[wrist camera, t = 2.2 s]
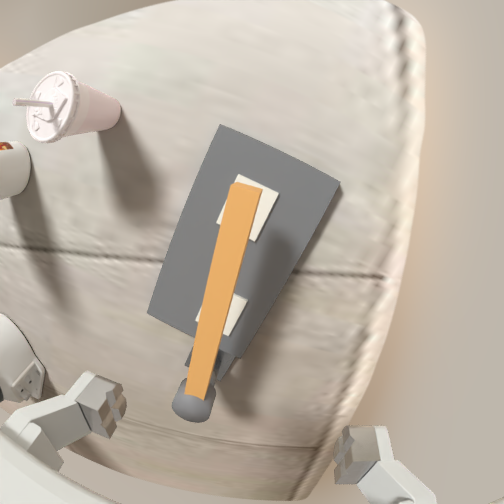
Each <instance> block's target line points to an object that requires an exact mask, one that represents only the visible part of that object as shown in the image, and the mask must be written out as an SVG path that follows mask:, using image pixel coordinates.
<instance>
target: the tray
mask: <svg viewBox="0 0 504 504" xmlns="http://www.w3.org/2000/svg"><path fill="white" fill-rule="evenodd" d="M235 182H240V183H243V184H247V185H251V186H254V187H258V188H261V189H263V190H262V194H261V197H260V201H259V205H258V208H257V212H256V215H255V219H254V223H253V226H252V230H251V233H250V237H249V240H248V244H247V248H246V251H245V255H244V258H243V262H242V266H241V269H240V273H239V277H238V280H237V284H236V287H235V291H234V295H233V298H232V302H231V306H230V309H229V313H228V317H227V320H226V324H225V328H224V331H223V335H222V339H221V342H220V346H219V349H220V350H222V351H224V352H227V353H229V354H231V355H233V356H236V357H238V358H241V357H242V355H243V353H244V352H245V350H246V349H247V347H248V345H249V344H250V342H251V340H252V339H253V337H254V335H255V334H256V332H257V331H258V329H259V327H260V326H261V324H262V322H263V321H264V319H265V317H266V315H267V314H268V312H269V310H270V309H271V307H272V305H273V304H274V302H275V300H276V299H277V297H278V295H279V293H280V292H281V290H282V288H283V286H284V285H285V283H286V281H287V280H288V278H289V276H290V274H291V273H292V271H293V269H294V267H295V265H296V264H297V262H298V260H299V258H300V257H301V255H302V253H303V251H304V249H305V248H306V246H307V244H308V242H309V240H310V239H311V237H312V235H313V233H314V231H315V229H316V228H317V226H318V224H319V222H320V220H321V218H322V216H323V215H324V213H325V211H326V209H327V207H328V205H329V203H330V201H331V199H332V198H333V196H334V194H335V192H336V190H337V188H338V186H339V184H340V181H338V180H336V179H334V178H332V177H331V176H329V175H327V174H325V173H323V172H321V171H319V170H318V169H316V168H314V167H312V166H310V165H308V164H306V163H304V162H302V161H300V160H298V159H296V158H294V157H292V156H290V155H288V154H286V153H284V152H282V151H280V150H278V149H275V148H273V147H271V146H269V145H267V144H265V143H263V142H260V141H258V140H256V139H254V138H251V137H249V136H247V135H245V134H242V133H240V132H238V131H235V130H233V129H231V128H228V127H226V126H223V125H221V124H220V125H219V127H218V130H217V132H216V134H215V136H214V138H213V140H212V143H211V145H210V147H209V149H208V152H207V154H206V156H205V158H204V161H203V163H202V165H201V168H200V170H199V172H198V175H197V177H196V179H195V182H194V184H193V187H192V189H191V191H190V194H189V196H188V199H187V201H186V204H185V206H184V209H183V211H182V214H181V216H180V219H179V222H178V224H177V227H176V230H175V232H174V235H173V238H172V240H171V243H170V246H169V248H168V251H167V254H166V257H165V260H164V263H163V265H162V268H161V271H160V274H159V277H158V280H157V283H156V286H155V289H154V292H153V295H152V298H151V301H150V305H149V308H148V311H147V314H149V315H151V316H153V317H155V318H157V319H159V320H161V321H163V322H164V323H166V324H168V325H170V326H172V327H174V328H176V329H178V330H180V331H182V332H184V333H186V334H188V335H190V336H192V337H194V338H195V336H196V331H197V327H198V322H199V317H200V312H201V308H202V303H203V298H204V294H205V289H206V285H207V280H208V276H209V272H210V267H211V263H212V259H213V254H214V250H215V246H216V242H217V237H218V233H219V229H220V225H221V221H222V217H223V213H224V209H225V205H226V201H227V197H228V193H229V189H230V185H231V184H233V183H235Z"/></svg>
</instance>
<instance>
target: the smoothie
mask: <svg viewBox="0 0 504 504" xmlns="http://www.w3.org/2000/svg"><path fill="white" fill-rule="evenodd" d="M12 105H13V106H28V107H27V115H26V118H27V127H28V130H29V133H30V135H31V136H32V137H33V139H35V140H36V141H38V142H41V143H45V142H46V143H53V142H56V141H58V140H60V139H61V138H62V137H66V136H71V135H76V134H82V133H88V132H94V131H100V130H107V129H110V128H112V127H113V126H114V125H115V124H116V123H117V122H118V120H119V118H120V114H121V106H120V104H119V102H118V101H117V100H116V99H115V98H113V97H111V96H109V95H107V94H105V93H103V92H101V91H98V90H96V89H94V88H92V87H90V86H88V85H86V84H84V83H82V82H80V81H78V80H77V79H76V78H75V77H74V75H72V74H70V73H69V72H61V71H55V72H52V73H50V74H48V75H46V76H45V77H44V78H43V79H42V80H41V81H40V82H39V83H38V84H37V86H36V87H35V89H34V90H33V92H32V95H31V97H30V99H20V98H14V99H13V102H12Z"/></svg>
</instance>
